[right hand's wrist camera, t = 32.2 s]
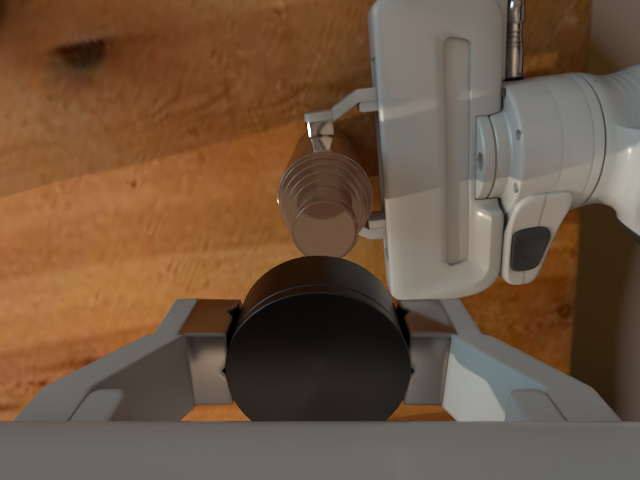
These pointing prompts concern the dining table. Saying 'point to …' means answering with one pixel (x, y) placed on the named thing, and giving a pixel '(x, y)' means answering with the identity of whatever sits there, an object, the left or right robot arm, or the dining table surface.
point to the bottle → (325, 195)
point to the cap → (318, 345)
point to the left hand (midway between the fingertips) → (311, 173)
